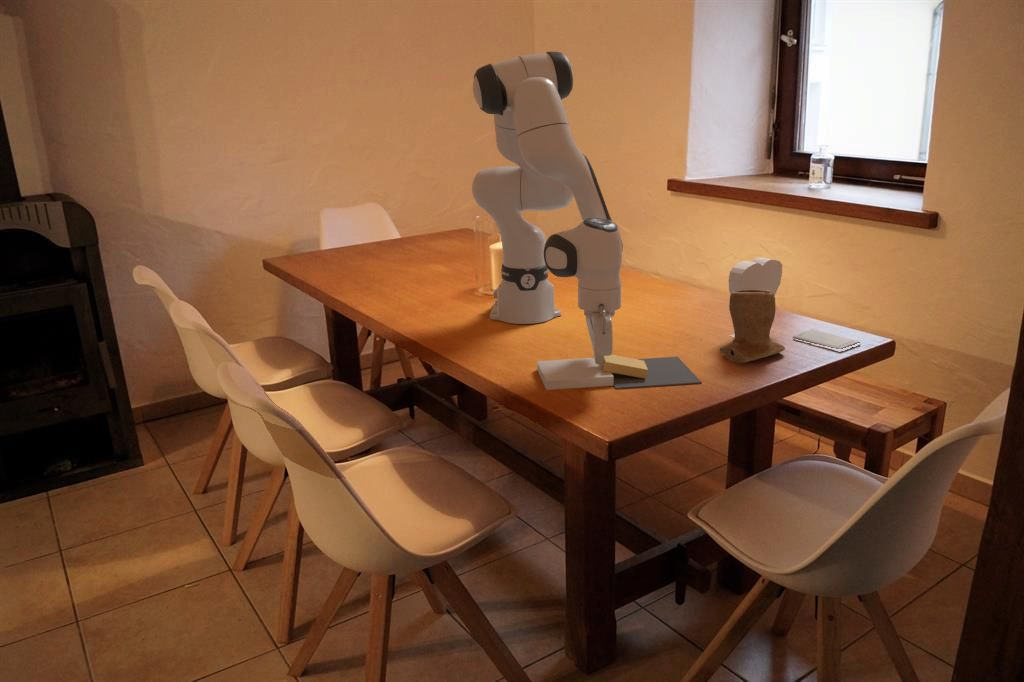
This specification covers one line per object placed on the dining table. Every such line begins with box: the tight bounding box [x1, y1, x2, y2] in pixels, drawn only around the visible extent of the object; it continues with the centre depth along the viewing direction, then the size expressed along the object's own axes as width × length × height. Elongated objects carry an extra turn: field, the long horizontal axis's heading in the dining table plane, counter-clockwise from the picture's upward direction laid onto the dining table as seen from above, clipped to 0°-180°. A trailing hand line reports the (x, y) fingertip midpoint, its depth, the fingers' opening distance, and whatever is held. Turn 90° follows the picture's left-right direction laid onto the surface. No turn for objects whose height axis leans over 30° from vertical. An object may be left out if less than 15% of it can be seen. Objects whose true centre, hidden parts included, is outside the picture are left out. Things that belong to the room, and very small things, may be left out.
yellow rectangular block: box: [602, 354, 648, 379], centre depth 176 cm, size 9×6×2 cm, turn 89°
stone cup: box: [719, 289, 786, 364], centre depth 185 cm, size 15×12×15 cm
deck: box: [536, 357, 614, 391], centre depth 176 cm, size 12×14×2 cm
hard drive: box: [792, 328, 861, 349], centre depth 195 cm, size 2×8×12 cm
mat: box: [611, 356, 703, 390], centre depth 178 cm, size 16×18×1 cm
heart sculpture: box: [728, 256, 783, 337], centre depth 200 cm, size 16×5×18 cm, turn 127°
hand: (598, 362), depth 176 cm, fingers closed, pressing on yellow rectangular block
